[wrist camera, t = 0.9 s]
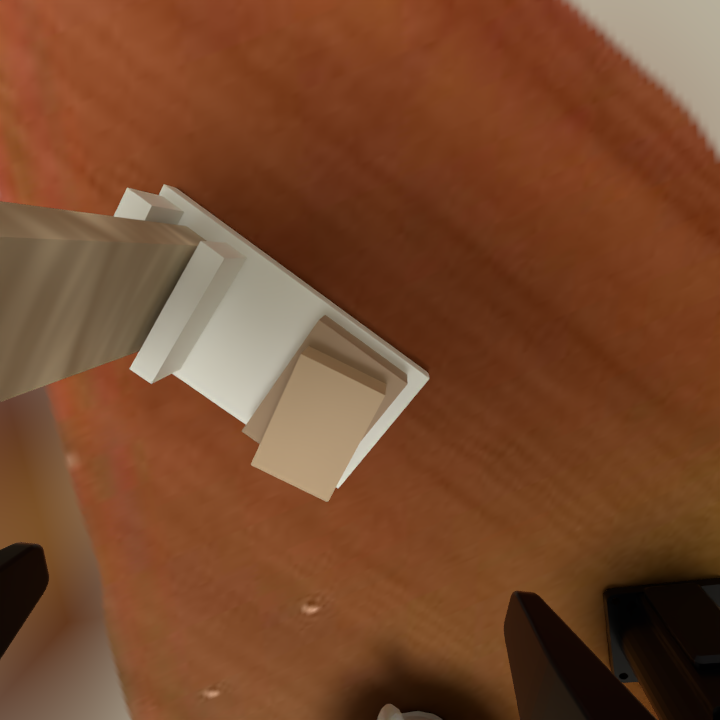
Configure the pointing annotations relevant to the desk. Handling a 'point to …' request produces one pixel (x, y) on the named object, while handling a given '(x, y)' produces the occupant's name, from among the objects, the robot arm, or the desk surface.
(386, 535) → the desk surface
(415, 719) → the teacup
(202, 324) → the offcut rack
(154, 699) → the desk surface
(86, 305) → the grey brown wooden board
